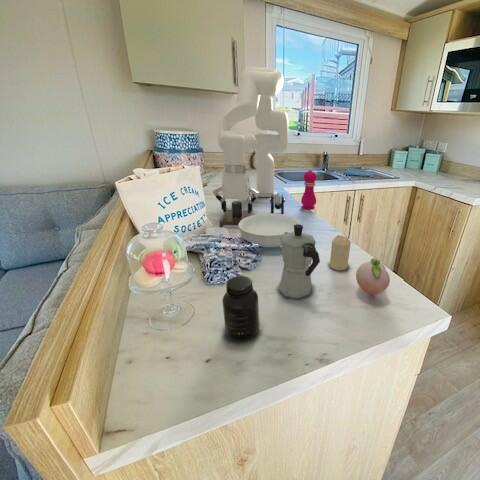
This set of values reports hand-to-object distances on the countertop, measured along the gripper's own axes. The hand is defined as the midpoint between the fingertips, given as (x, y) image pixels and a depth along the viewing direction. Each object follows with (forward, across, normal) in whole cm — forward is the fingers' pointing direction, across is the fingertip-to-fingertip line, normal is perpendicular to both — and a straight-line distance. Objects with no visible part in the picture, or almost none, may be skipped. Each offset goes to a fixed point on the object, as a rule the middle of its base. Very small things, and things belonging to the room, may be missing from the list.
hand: (237, 211), depth 110 cm
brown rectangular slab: (+4, 0, 0) cm, 4 cm away
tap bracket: (+4, -16, +1) cm, 17 cm away
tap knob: (+2, 0, 0) cm, 2 cm away
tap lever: (-2, -16, -3) cm, 16 cm away
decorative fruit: (+4, -42, +49) cm, 65 cm away
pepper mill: (+4, -30, -18) cm, 35 cm away
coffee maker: (+4, -23, +48) cm, 53 cm away
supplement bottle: (+4, -11, +62) cm, 63 cm away
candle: (+4, -36, +35) cm, 50 cm away
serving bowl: (+4, -14, +18) cm, 23 cm away
